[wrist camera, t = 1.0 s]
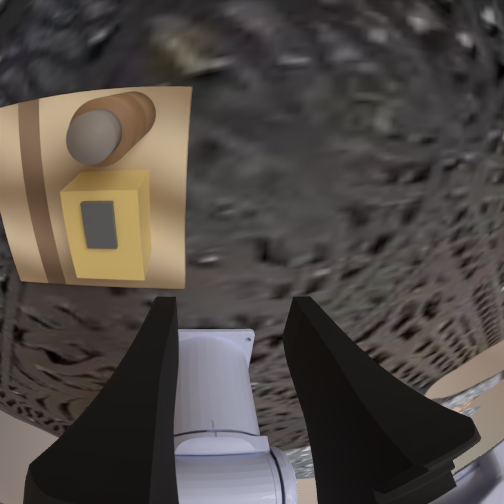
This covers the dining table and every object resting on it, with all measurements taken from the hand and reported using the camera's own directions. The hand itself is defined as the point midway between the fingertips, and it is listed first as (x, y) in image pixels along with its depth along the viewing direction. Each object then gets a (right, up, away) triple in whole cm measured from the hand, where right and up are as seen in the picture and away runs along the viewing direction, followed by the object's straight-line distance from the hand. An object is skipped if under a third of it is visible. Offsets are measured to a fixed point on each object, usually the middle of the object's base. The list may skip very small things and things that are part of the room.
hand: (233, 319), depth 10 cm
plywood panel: (-10, +6, +6) cm, 13 cm away
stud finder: (-7, +5, +6) cm, 10 cm away
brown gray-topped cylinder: (-5, +9, +3) cm, 11 cm away
